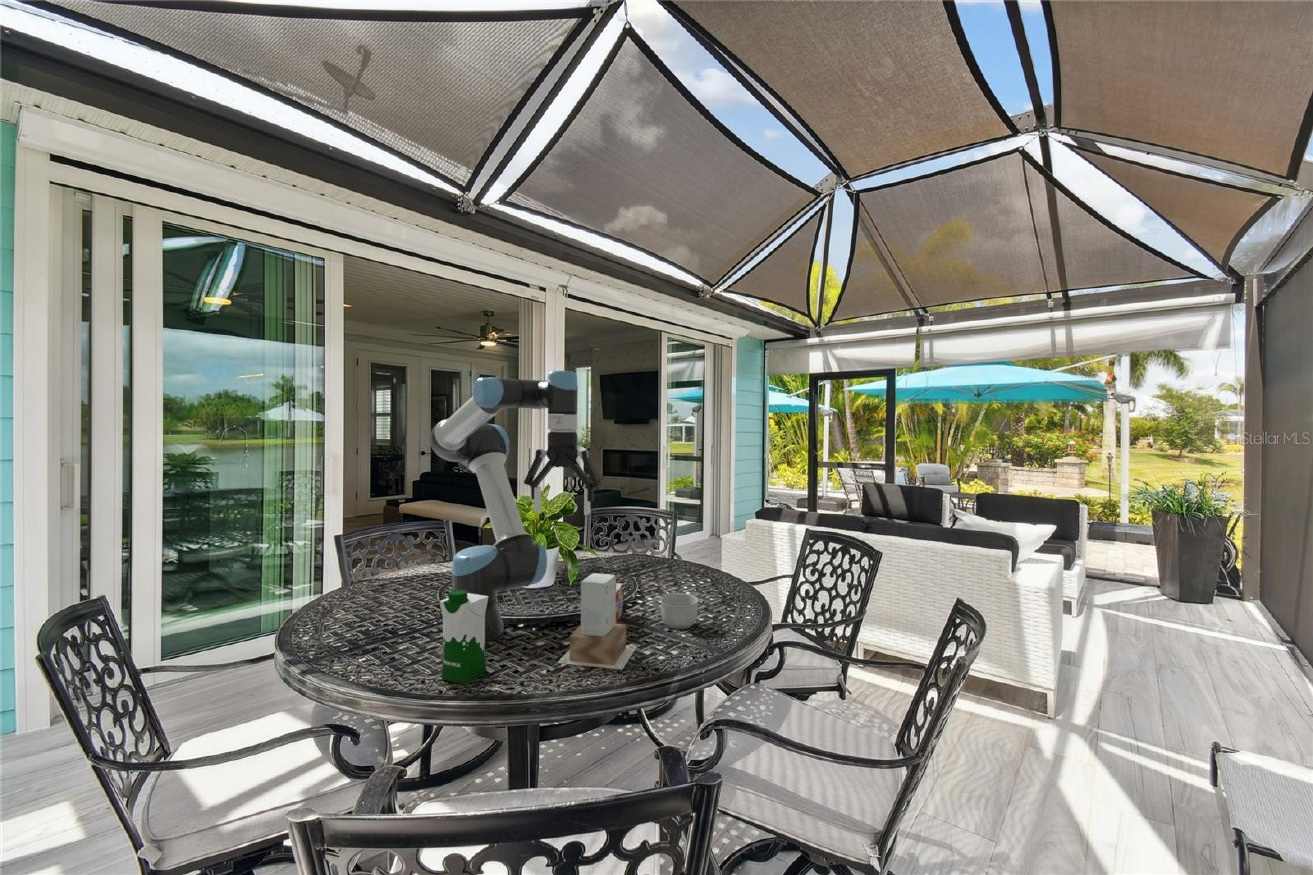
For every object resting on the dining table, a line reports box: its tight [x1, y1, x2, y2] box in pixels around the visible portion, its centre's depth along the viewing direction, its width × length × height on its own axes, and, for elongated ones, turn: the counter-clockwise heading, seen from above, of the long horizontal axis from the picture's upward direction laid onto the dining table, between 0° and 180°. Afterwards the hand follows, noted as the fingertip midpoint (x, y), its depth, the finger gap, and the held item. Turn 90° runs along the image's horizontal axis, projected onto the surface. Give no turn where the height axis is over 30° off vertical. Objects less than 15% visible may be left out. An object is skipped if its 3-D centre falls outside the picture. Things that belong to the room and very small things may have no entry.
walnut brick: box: [569, 622, 627, 665], centre depth 144 cm, size 11×11×6 cm
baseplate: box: [557, 643, 638, 670], centre depth 144 cm, size 16×14×2 cm
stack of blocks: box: [615, 581, 624, 624], centre depth 168 cm, size 21×6×12 cm, turn 171°
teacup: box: [652, 592, 699, 631], centre depth 168 cm, size 14×11×8 cm
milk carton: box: [439, 590, 489, 685], centre depth 134 cm, size 9×9×20 cm
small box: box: [580, 572, 616, 637], centre depth 144 cm, size 8×6×13 cm
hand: (562, 513), depth 151 cm, fingers open, 13 cm apart
